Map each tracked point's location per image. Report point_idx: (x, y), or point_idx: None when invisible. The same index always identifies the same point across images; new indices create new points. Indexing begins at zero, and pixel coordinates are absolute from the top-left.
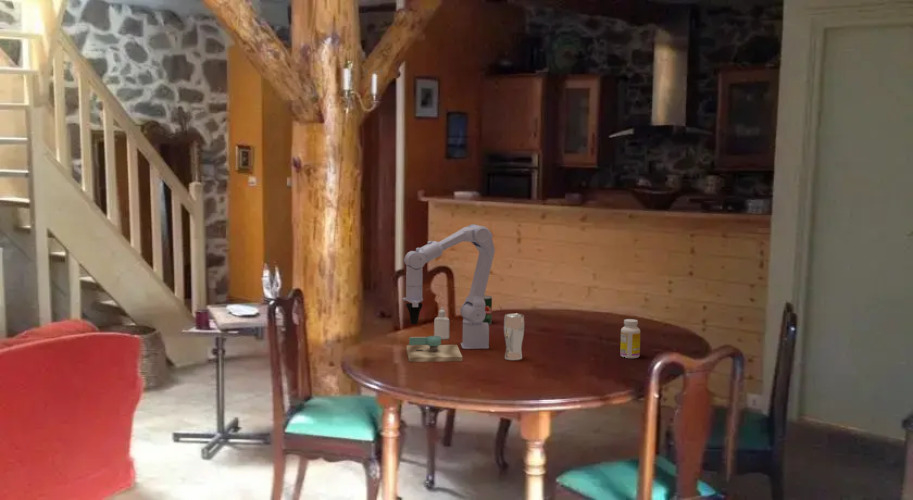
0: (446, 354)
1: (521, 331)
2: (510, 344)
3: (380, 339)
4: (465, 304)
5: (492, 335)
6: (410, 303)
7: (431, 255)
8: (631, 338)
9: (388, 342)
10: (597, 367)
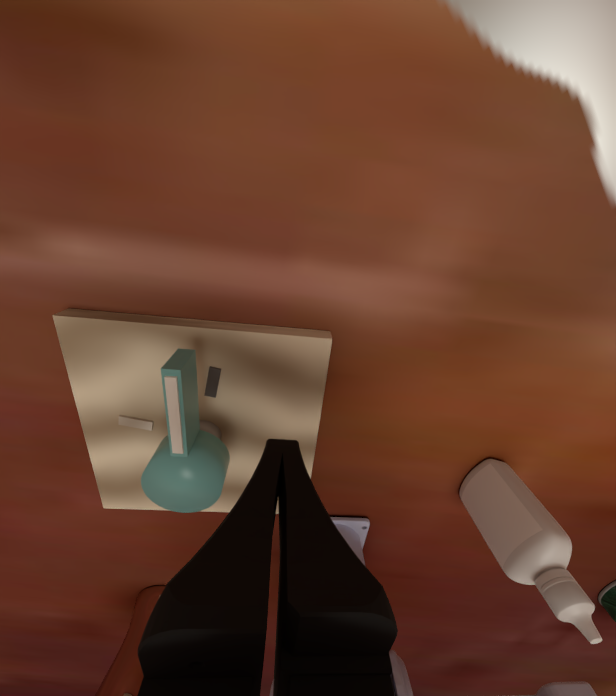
0: (139, 468)
1: None
2: (116, 656)
3: (602, 225)
4: None
5: (458, 592)
6: (372, 652)
7: None
8: None
9: (511, 261)
10: (85, 691)
